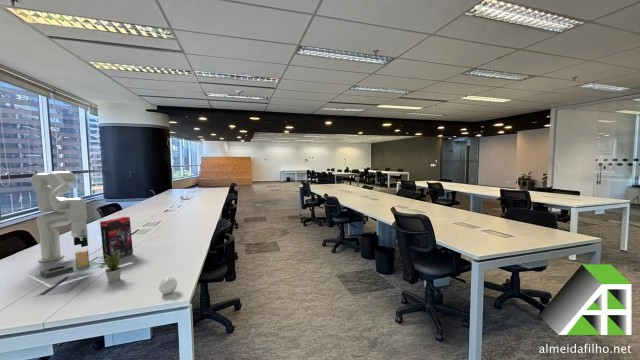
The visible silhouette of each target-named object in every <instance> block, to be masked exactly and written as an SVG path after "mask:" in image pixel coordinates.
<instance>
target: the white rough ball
mask: <svg viewBox="0 0 640 360" xmlns="http://www.w3.org/2000/svg"><path fill="white" fill-rule="evenodd" d="M177 286H178V281H177V280H176V278H174V277H173V276H166V277H163V278H162V279H161V280H160V281H159V283H158V290H159V292H160V293H161V294H163V295H168V294H172V293H173V292H174V291H175V290H176V288H178V287H177Z"/></svg>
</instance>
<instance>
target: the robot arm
mask: <svg viewBox="0 0 640 360" xmlns="http://www.w3.org/2000/svg"><path fill="white" fill-rule="evenodd" d="M30 179H31V180H30V181H31V182H30V183H31V186H32V187H33V189H34V191H35V193H36V202H37V208H38V212H39V211H40V212H42V213H45V214H41V215H39V216H37V218H36V225H37V228H38V232H39V233H38V234H39V244H40V255H41V256H40V258H38V260H37V261H38V262H40V263H44V262H51V261H56V260H59V259H62V258H64V256H65V254H62V252H61V243H60V242H61V240H60V232H59V230H58V229H56V228H55V227H60V226H68V225H69V224H70V226H71V229H70V230H71V237H73V245H74V246H79V245H80V247H81V248H84V247H88V245H89V242H88V239H89V238H88V226H87V220H88V215H87V205H86V199H85V198H82V197H81V198H80V197H68V198H67V197H66V196H63V195H66V194H68V193H69V192H70V191H71V185H70V184H74V183H76V179H77V178H76V174H74V173H73V172H72V171H69V170H68V171H51V172H40V173H35V174H33V175H32V176H31V178H30ZM49 212H51V213H49ZM52 212H54V213H52Z"/></svg>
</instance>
